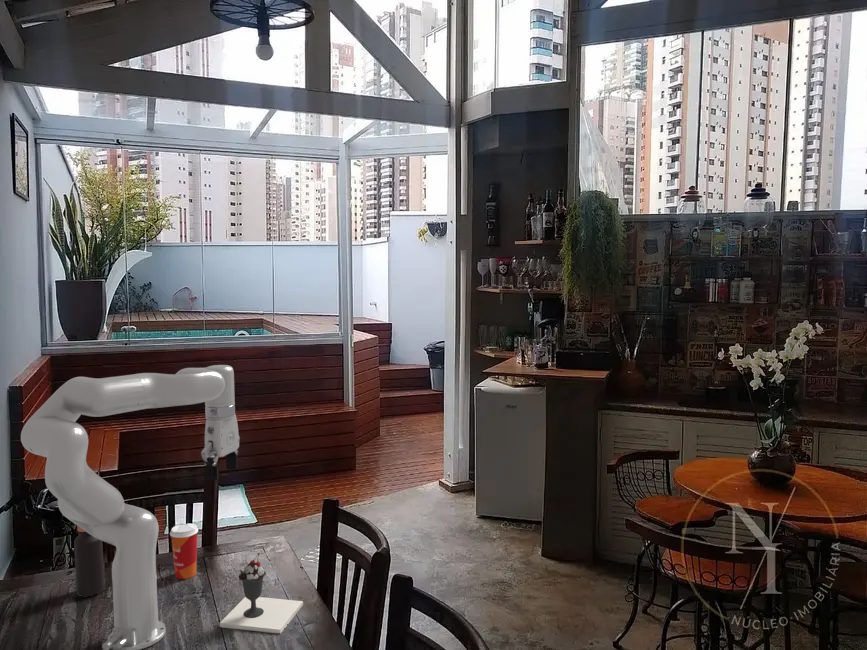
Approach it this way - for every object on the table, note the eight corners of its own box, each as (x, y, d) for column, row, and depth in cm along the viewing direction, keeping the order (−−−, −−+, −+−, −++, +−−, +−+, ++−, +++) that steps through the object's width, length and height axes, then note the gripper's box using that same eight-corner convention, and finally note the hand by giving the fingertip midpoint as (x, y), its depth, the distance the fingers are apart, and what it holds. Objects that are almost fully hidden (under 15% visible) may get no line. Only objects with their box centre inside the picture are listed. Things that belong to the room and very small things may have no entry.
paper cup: (170, 572, 193) (168, 525, 192) (198, 567, 196) (196, 521, 195) (172, 583, 186) (170, 535, 185) (201, 578, 189) (199, 530, 188)
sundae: (271, 607, 171) (269, 550, 169) (260, 620, 164) (259, 562, 163) (247, 605, 172) (245, 549, 170) (235, 618, 165) (233, 560, 164)
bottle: (103, 595, 180) (99, 523, 178) (75, 599, 177) (71, 527, 176) (105, 584, 186) (102, 514, 184) (78, 588, 184) (74, 518, 182)
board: (280, 633, 160) (280, 629, 160) (219, 627, 163) (219, 623, 163) (303, 604, 174) (303, 601, 174) (246, 599, 177) (246, 595, 177)
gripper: (215, 419, 168) (217, 485, 169) (249, 405, 185) (251, 466, 186) (188, 418, 170) (191, 483, 171) (225, 404, 186) (226, 464, 188)
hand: (222, 474), depth 179 cm, fingers open, 9 cm apart
